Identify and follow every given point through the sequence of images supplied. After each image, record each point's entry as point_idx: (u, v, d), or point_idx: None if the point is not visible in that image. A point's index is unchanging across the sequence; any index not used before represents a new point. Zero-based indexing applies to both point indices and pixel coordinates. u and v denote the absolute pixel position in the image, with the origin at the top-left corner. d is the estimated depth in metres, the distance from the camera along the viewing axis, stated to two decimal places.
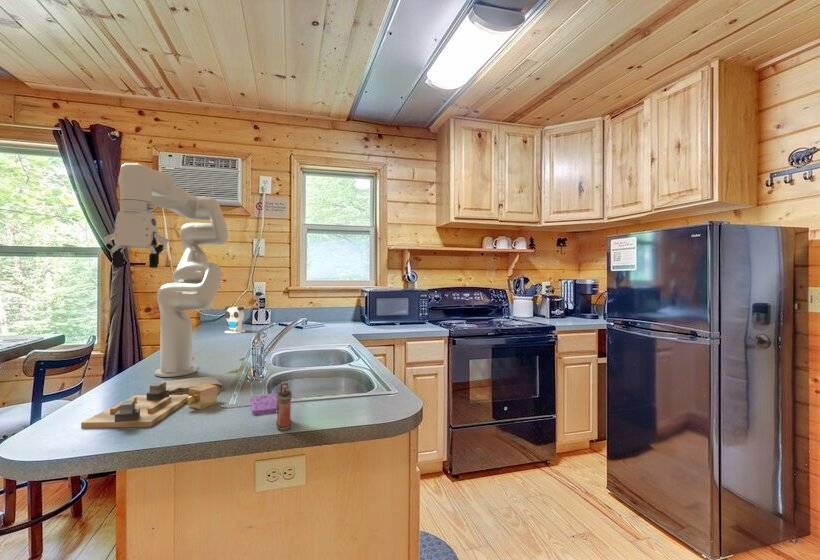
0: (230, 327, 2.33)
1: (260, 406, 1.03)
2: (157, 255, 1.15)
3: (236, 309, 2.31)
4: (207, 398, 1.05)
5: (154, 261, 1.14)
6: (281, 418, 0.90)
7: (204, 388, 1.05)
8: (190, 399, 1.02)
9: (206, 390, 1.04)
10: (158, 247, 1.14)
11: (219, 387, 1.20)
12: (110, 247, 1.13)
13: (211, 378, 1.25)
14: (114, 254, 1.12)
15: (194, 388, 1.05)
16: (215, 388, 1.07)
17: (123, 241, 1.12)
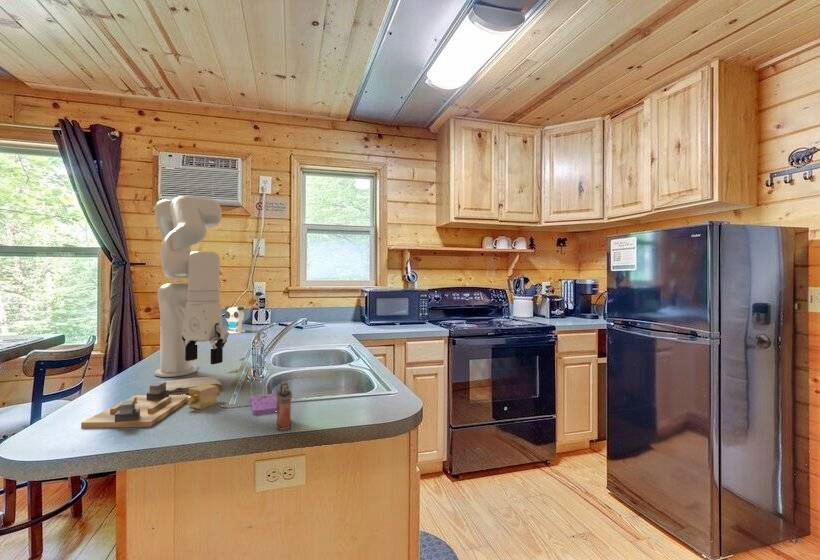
0: (230, 327, 2.33)
1: (261, 406, 1.03)
2: None
3: (236, 309, 2.31)
4: (207, 398, 1.05)
5: None
6: (281, 418, 0.90)
7: (204, 388, 1.05)
8: (190, 399, 1.02)
9: (206, 390, 1.04)
10: None
11: (219, 387, 1.20)
12: None
13: (211, 378, 1.25)
14: None
15: (194, 388, 1.05)
16: (215, 388, 1.07)
17: None
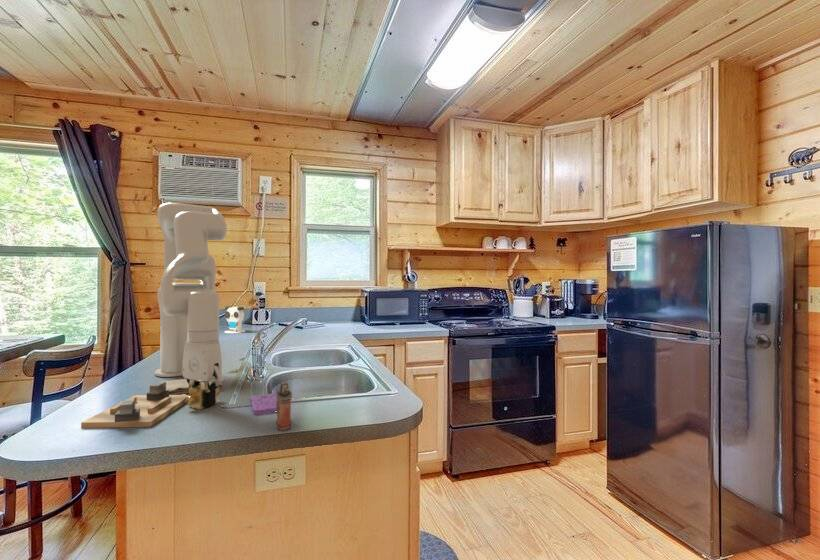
0: (230, 327, 2.33)
1: (261, 406, 1.03)
2: None
3: (236, 309, 2.31)
4: None
5: None
6: (281, 418, 0.90)
7: (204, 388, 1.05)
8: (190, 399, 1.02)
9: None
10: None
11: (219, 387, 1.20)
12: None
13: None
14: None
15: (194, 388, 1.05)
16: None
17: None
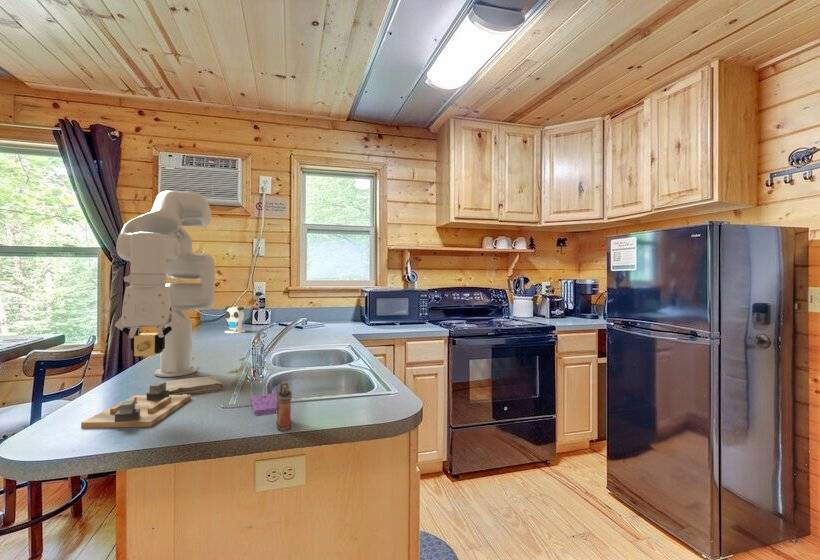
0: (230, 327, 2.33)
1: (261, 406, 1.03)
2: None
3: (236, 309, 2.31)
4: None
5: None
6: (281, 418, 0.90)
7: (153, 334, 1.00)
8: (145, 344, 0.97)
9: (157, 336, 1.00)
10: None
11: (220, 386, 1.20)
12: None
13: (210, 378, 1.25)
14: None
15: (141, 335, 0.98)
16: None
17: None
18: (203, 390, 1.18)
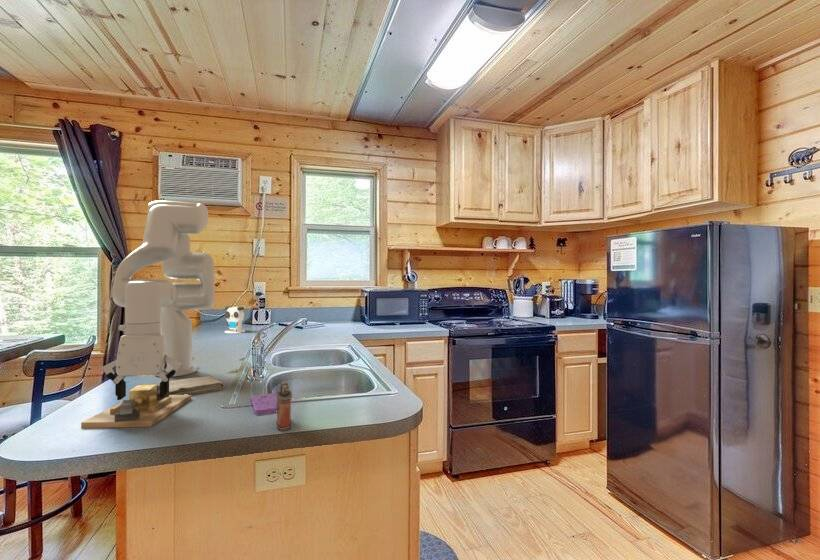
0: (230, 327, 2.33)
1: (262, 406, 1.03)
2: None
3: (236, 309, 2.31)
4: (152, 397, 1.00)
5: None
6: (281, 418, 0.90)
7: (148, 388, 1.00)
8: (140, 400, 0.96)
9: (152, 389, 1.00)
10: None
11: (220, 386, 1.21)
12: None
13: (209, 378, 1.25)
14: None
15: (136, 389, 0.98)
16: (155, 386, 1.03)
17: None
18: (204, 390, 1.18)
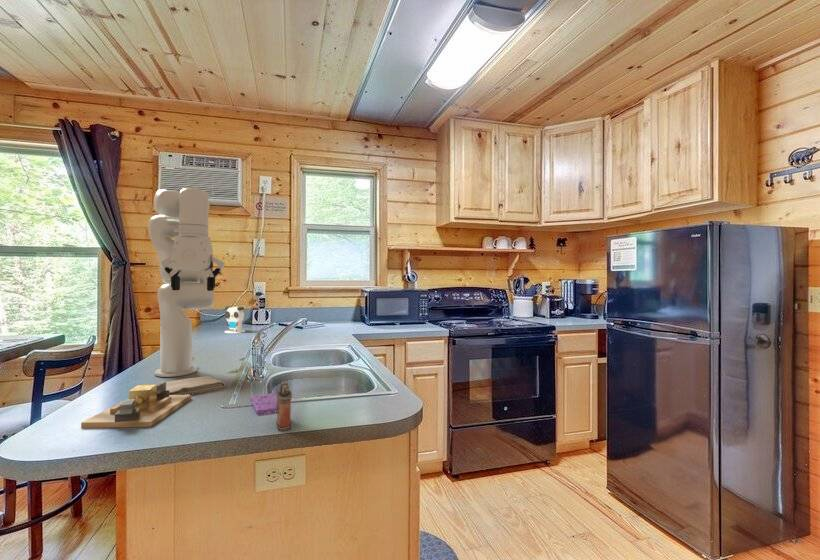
0: (230, 327, 2.33)
1: (263, 406, 1.03)
2: None
3: (236, 309, 2.31)
4: (152, 397, 1.00)
5: None
6: (281, 418, 0.90)
7: (148, 388, 1.00)
8: (140, 400, 0.96)
9: (152, 389, 1.00)
10: None
11: (221, 385, 1.22)
12: None
13: (208, 377, 1.25)
14: None
15: (136, 389, 0.98)
16: (155, 386, 1.03)
17: None
18: (205, 389, 1.18)
